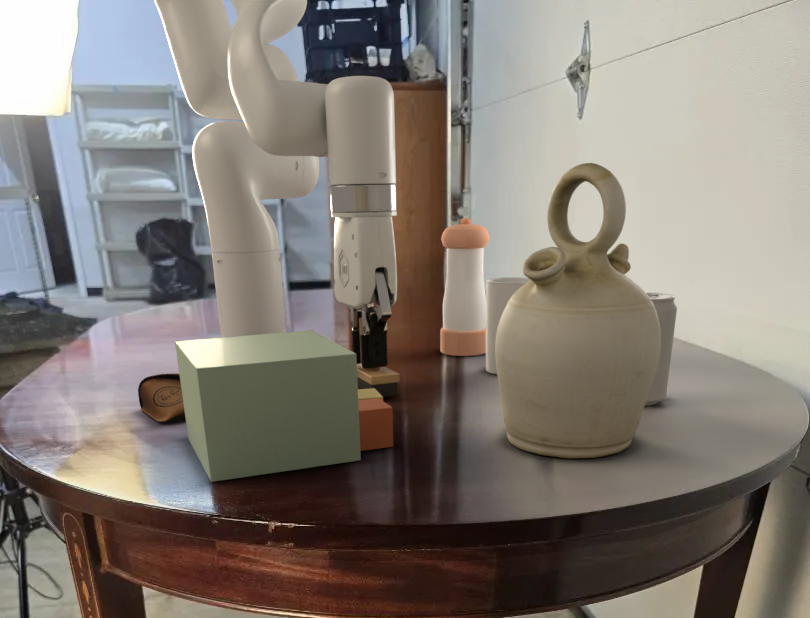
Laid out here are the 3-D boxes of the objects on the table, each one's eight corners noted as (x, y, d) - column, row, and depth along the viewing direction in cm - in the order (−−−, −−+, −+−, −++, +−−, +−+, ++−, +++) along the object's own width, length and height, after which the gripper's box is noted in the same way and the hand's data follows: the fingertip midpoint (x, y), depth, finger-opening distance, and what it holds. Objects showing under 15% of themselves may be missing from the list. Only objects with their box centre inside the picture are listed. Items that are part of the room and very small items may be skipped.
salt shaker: (497, 352, 119) (501, 217, 111) (459, 358, 115) (461, 219, 107) (467, 345, 124) (469, 216, 116) (431, 350, 121) (430, 218, 113)
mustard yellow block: (337, 390, 81) (374, 388, 82) (339, 427, 83) (375, 424, 84) (344, 399, 78) (383, 396, 79) (346, 438, 79) (384, 434, 80)
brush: (345, 382, 100) (341, 314, 97) (370, 379, 102) (368, 311, 98) (372, 398, 92) (369, 324, 88) (400, 395, 93) (398, 322, 90)
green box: (186, 435, 81) (172, 338, 77) (314, 419, 86) (308, 327, 82) (211, 482, 68) (196, 368, 64) (361, 460, 73) (356, 353, 69)
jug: (546, 475, 68) (567, 160, 58) (465, 430, 81) (469, 166, 71) (683, 451, 74) (724, 159, 63) (586, 413, 86) (607, 165, 76)
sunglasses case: (161, 421, 84) (143, 363, 84) (149, 440, 90) (133, 386, 90) (309, 397, 93) (293, 344, 93) (289, 415, 99) (274, 366, 99)
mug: (502, 378, 103) (506, 284, 98) (474, 369, 108) (476, 279, 103) (561, 369, 107) (568, 278, 102) (532, 361, 112) (536, 274, 107)
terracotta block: (340, 402, 77) (378, 397, 78) (342, 441, 78) (379, 436, 80) (353, 411, 73) (392, 407, 75) (355, 452, 75) (393, 446, 76)
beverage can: (666, 395, 93) (679, 291, 88) (664, 409, 87) (677, 299, 82) (612, 392, 95) (621, 290, 90) (606, 405, 89) (616, 297, 84)
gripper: (312, 203, 94) (322, 356, 101) (355, 204, 80) (363, 380, 88) (370, 202, 96) (376, 351, 104) (421, 202, 83) (423, 374, 90)
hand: (370, 363), depth 96 cm, fingers closed on brush, 2 cm apart
